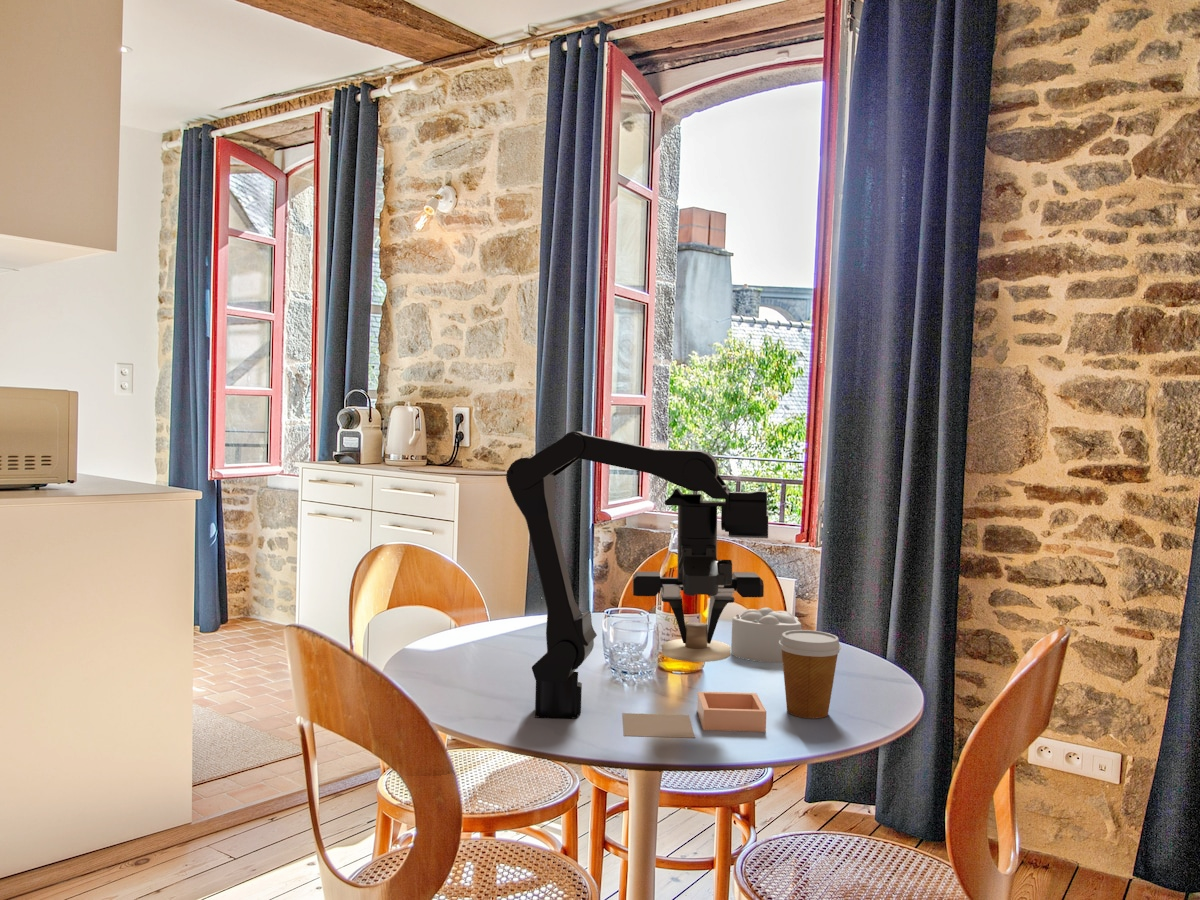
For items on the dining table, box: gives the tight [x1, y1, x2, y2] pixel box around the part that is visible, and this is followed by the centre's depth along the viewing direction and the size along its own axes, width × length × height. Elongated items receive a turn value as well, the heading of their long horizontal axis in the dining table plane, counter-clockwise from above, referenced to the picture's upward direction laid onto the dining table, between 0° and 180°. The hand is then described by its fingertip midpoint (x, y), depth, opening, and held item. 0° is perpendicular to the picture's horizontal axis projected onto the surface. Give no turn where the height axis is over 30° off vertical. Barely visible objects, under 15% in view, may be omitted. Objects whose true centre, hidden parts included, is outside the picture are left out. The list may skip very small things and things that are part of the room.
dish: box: [696, 691, 767, 733], centre depth 138 cm, size 9×9×4 cm
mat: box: [622, 712, 696, 739], centre depth 135 cm, size 10×10×1 cm
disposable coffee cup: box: [779, 629, 842, 719], centre depth 144 cm, size 10×10×12 cm
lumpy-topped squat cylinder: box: [730, 607, 802, 664], centre depth 180 cm, size 10×13×9 cm
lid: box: [661, 621, 732, 663], centre depth 135 cm, size 10×10×4 cm
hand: (696, 642), depth 135 cm, fingers closed on lid, 3 cm apart
